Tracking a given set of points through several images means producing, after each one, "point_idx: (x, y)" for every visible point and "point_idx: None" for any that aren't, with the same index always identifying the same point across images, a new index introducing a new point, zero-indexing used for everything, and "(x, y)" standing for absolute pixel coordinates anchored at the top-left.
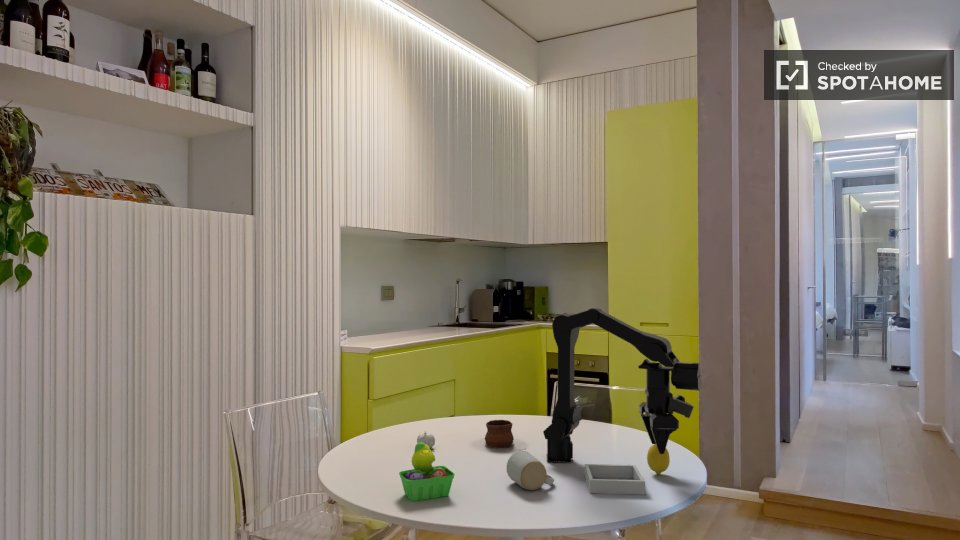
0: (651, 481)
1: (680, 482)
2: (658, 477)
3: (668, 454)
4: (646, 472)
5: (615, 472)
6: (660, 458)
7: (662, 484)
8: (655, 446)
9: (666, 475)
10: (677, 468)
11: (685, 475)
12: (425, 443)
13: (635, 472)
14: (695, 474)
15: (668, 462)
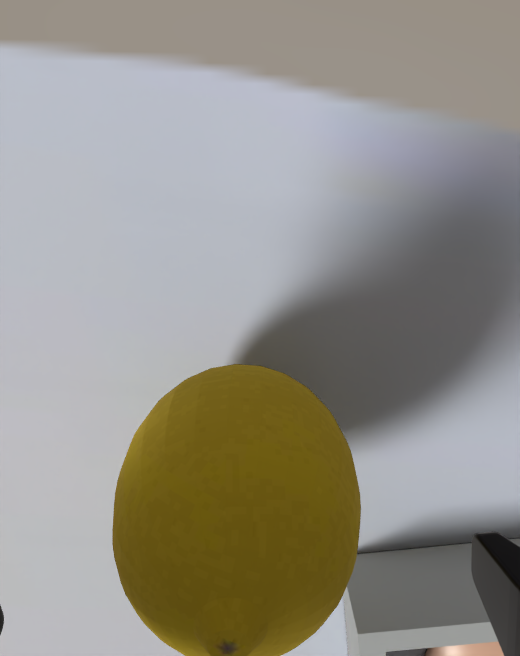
0: (418, 466)
1: (420, 263)
2: None
3: (279, 426)
4: None
5: None
6: (359, 498)
7: (480, 400)
8: (288, 644)
9: (254, 352)
10: (27, 240)
11: (219, 194)
12: None
13: None
14: (166, 92)
15: (301, 389)
